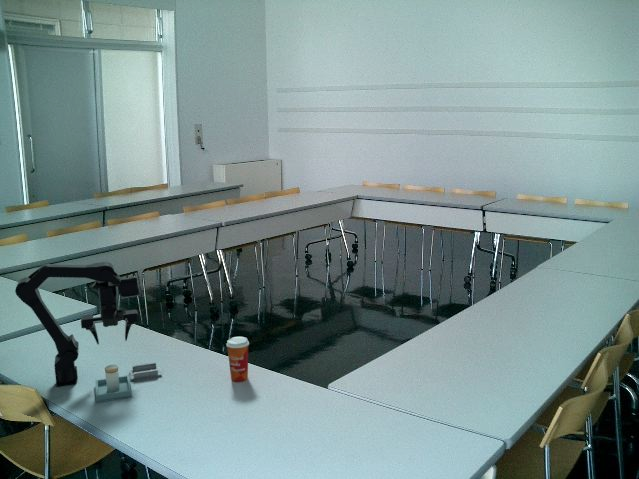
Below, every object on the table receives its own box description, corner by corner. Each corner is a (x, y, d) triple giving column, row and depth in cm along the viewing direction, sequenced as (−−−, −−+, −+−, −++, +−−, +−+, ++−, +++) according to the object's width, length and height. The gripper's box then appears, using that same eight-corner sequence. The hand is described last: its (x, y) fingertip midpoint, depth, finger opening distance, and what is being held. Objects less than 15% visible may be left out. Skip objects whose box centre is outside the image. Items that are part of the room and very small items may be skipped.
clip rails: (130, 381, 221) (130, 374, 220) (129, 372, 228) (128, 365, 228) (161, 376, 224) (161, 369, 224) (159, 368, 231) (158, 361, 231)
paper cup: (223, 381, 219) (221, 342, 217) (236, 372, 226) (234, 334, 223) (242, 385, 216) (240, 345, 213) (255, 376, 223) (253, 338, 220)
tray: (96, 402, 206) (95, 396, 205) (95, 386, 218) (95, 380, 217) (132, 396, 209) (131, 390, 209) (129, 380, 221) (129, 374, 221)
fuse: (107, 393, 211) (104, 370, 209) (106, 388, 214) (104, 365, 213) (120, 391, 212) (118, 368, 210) (119, 386, 216) (117, 363, 214)
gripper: (78, 309, 210) (83, 354, 214) (138, 302, 216) (141, 346, 220) (79, 299, 221) (83, 343, 224) (135, 293, 227) (139, 335, 230)
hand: (112, 342), depth 224 cm, fingers open, 9 cm apart
